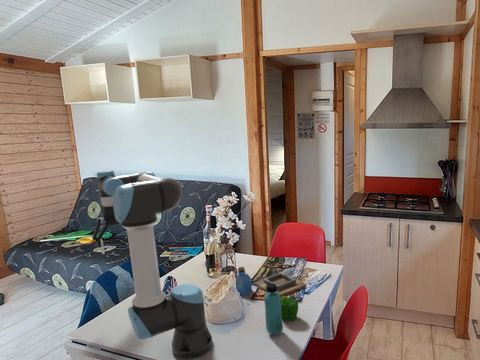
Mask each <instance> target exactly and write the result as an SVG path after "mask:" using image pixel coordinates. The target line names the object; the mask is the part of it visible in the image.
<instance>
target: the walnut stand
mask: <svg viewBox="0 0 480 360" xmlns="http://www.w3.org/2000/svg"><path fill="white" fill-rule="evenodd" d="M270 283H273V284H276V286H277V291H276V292H277V293H279V294H280V296H283V295H284V296H286V295H285V294H287V293H289V294H291V293H290V292H292V291H294V292H296V291H295V290H297V291H299V290H301V289H300V288H302V289H304V288H306V287H307V284H306V283H305V282H303V281H301V280H299V279H296V278H295V277H293V276H291V275H289V274H288V273H285V272H283V271H282V272H281V271H280V272H279V273H276V274H273V275H270V276H266V277H264V278H262V279H260V280H257V281H254V283H253V284H254V286H255V287H256V288H258V289H260V290H261V289H262V290H261V291H263V290H264V291H263V292H265V293H266V292H267V291H266V286H267V284H270ZM303 287H304V288H303ZM298 289H299V290H298ZM292 293H293V292H292ZM287 295H288V294H287Z"/></svg>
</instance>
